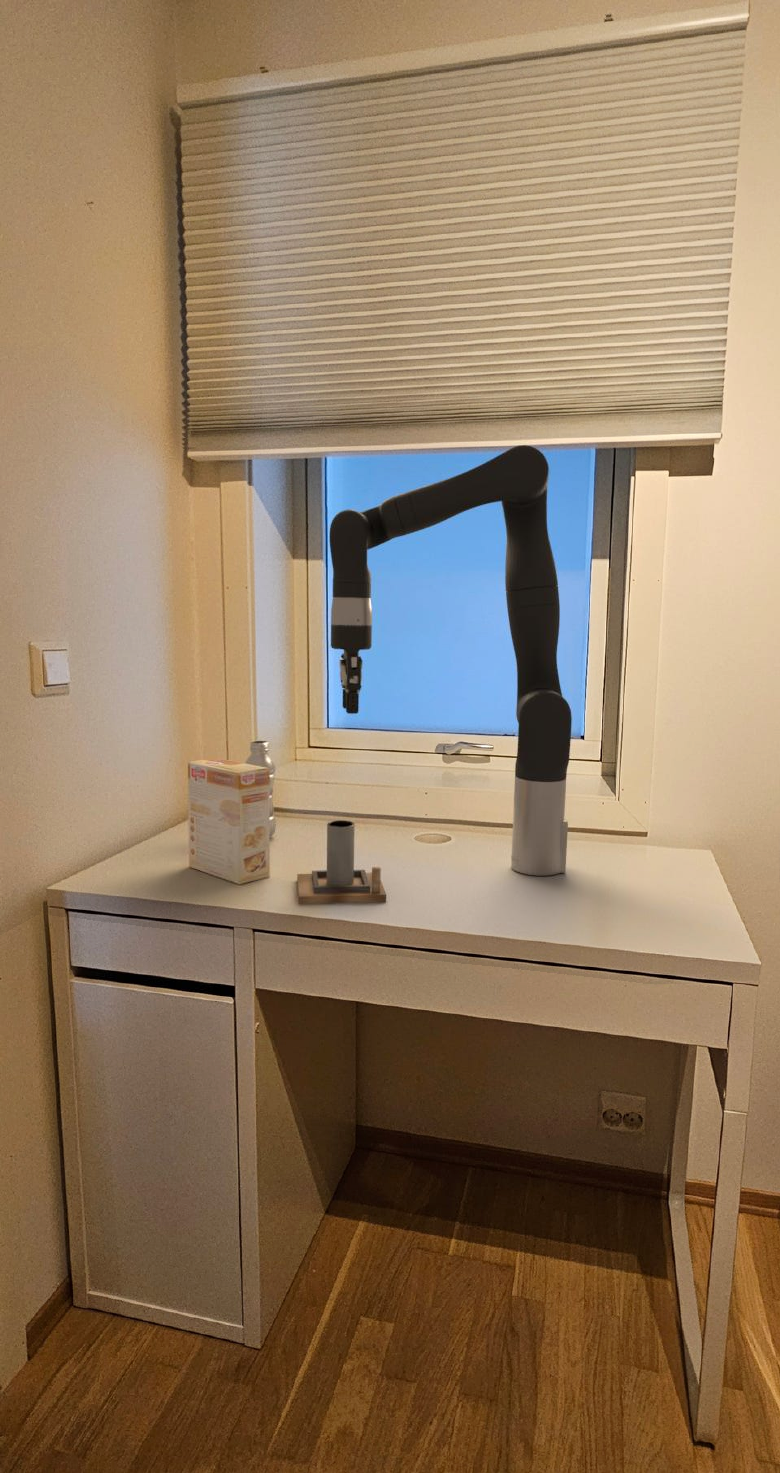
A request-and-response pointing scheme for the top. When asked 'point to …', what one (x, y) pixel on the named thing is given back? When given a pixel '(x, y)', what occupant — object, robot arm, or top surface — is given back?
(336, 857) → the grey hollow cylinder
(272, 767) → the plastic bottle
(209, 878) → the top surface
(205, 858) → the coffeecake box
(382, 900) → the socket board
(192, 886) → the top surface
